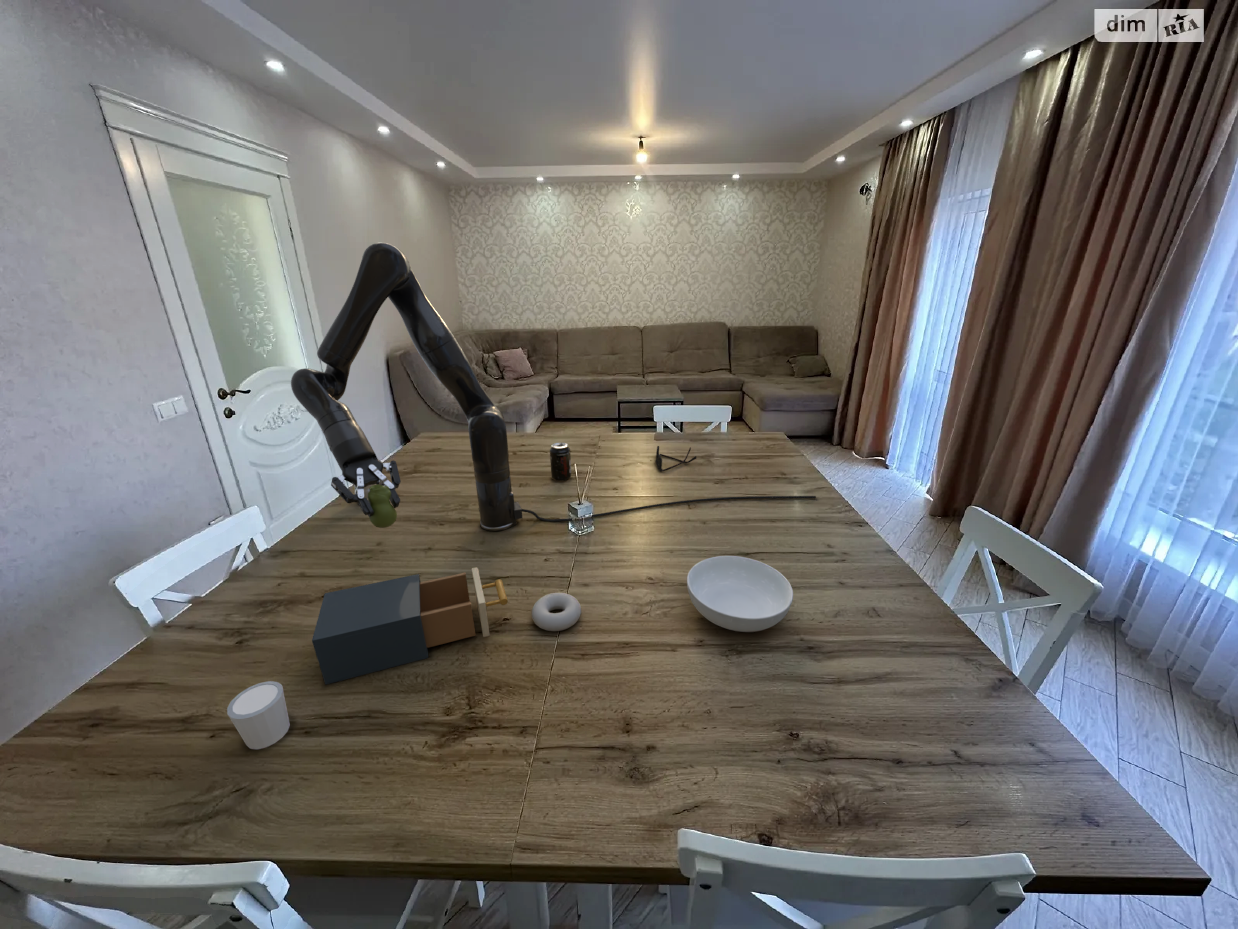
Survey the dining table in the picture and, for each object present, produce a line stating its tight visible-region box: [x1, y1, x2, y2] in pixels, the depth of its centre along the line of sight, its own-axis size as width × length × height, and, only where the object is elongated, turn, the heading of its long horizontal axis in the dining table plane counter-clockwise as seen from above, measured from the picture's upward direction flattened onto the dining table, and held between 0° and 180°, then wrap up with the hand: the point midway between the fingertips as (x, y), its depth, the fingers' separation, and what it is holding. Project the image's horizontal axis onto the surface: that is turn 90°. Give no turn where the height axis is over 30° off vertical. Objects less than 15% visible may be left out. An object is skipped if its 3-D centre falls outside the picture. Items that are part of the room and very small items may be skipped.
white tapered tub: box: [226, 680, 291, 750], centre depth 73 cm, size 7×7×7 cm
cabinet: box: [311, 573, 429, 686], centre depth 90 cm, size 17×14×10 cm
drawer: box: [420, 567, 509, 649], centre depth 94 cm, size 20×12×8 cm, turn 112°
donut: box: [531, 592, 582, 632], centre depth 98 cm, size 10×4×10 cm
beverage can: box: [549, 442, 572, 482], centre depth 162 cm, size 7×7×12 cm
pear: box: [368, 484, 398, 529], centre depth 105 cm, size 6×5×10 cm
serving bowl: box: [686, 555, 794, 633], centre depth 99 cm, size 21×21×7 cm
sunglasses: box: [654, 445, 697, 472], centre depth 176 cm, size 17×14×5 cm
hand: (384, 510), depth 104 cm, fingers closed on pear, 5 cm apart
